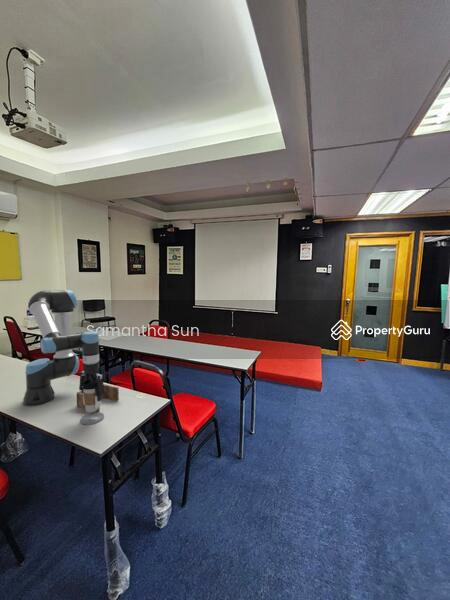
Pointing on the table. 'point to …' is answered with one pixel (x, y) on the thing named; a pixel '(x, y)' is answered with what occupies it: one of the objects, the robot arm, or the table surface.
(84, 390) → the coffee cup
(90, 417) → the coaster
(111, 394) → the wooden c-shaped bracket
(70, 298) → the robot arm
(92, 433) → the table surface
